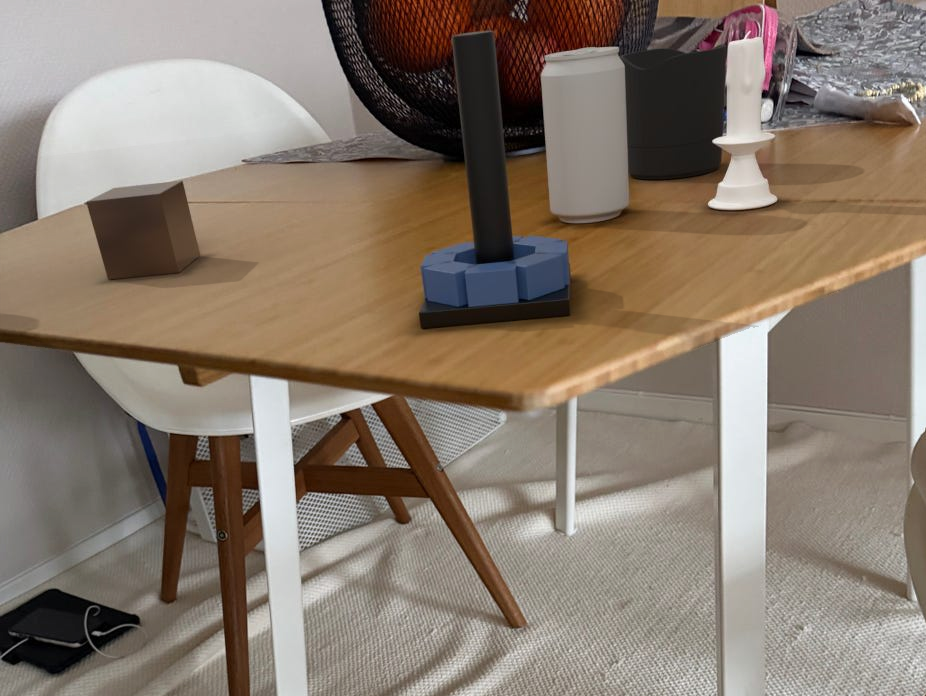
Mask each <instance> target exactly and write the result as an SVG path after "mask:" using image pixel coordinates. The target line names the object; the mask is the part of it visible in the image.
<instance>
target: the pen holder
mask: <svg viewBox="0 0 926 696" xmlns="http://www.w3.org/2000/svg"><path fill="white" fill-rule="evenodd" d="M727 49H728V45H727V44H726V43H725V44H719V45H716V46H714V47H713V48H711V49H705V50H704V49H703V50H699V51H698V50H697V51H693V52H685V51H682V50H678V49H675V48H668V47H667V48H666V47H665V48H652V49H645V50H638V51H634V52H629V53H625V54H622V55H620V56H619V55H618V56H619V58H620V59H621V60H622V62H623V63H624V65H625V90H626V120H627V150H628V174H629V175H630V177H632V178H635V179H639V180H671V179H682V178H689V177H695V176H701V175H705V174H708V173H711V172H714V171H716V170H718V169H719V166H720V165H721V163H722V158H723V157H722V154H723V149H722V148H721V147H719V146H717V145H715V144H714V143H713V142H712V141H713V140H714V139H716V138H719V137H722V136H724V122H725V121H724V120H725V119H724V118H725V98H726V97H725V96H726V94H725V93H726V74H727Z"/></svg>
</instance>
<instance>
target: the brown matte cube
mask: <svg viewBox="0 0 926 696" xmlns="http://www.w3.org/2000/svg"><path fill="white" fill-rule="evenodd" d="M188 201H189V200H188V198H187V193H186V189H185V184H184V182H183V180H174V181H163V182H157V183H156V182H155V183H146V184H138V185H137V184H136V185H127V186H120V187H113V188H111V189H109V190H107V191H104V192H102V193H101V194H98V195H97V196H95V197H93V198H91V199H89V200H87V201H85V203H86V207H87V210H88V213H89V217H90V221H91V224H92V228H93V231H94V235H95V238H96V241H97V245H98V249H99V252H100V256H101V259H102V263H103V267H104V270H105V274H106V277H107V280H108V281H109V280H120V279H130V278H139V277H140V278H141V277H149V276H150V277H151V276H160V275H171V274H178V273H180V272H182V271H183V270H184V269H186V268H187V267H188V266H189V265H191V263H193V262H194V261H195V260H197V259H198V258H199V257H200V256H201V253H200V248H199V243H198V240H197V235H196V231H195V227H194V222H193V219H192V215H191V211H190V210H191V209H190V206H189V203H188Z"/></svg>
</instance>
